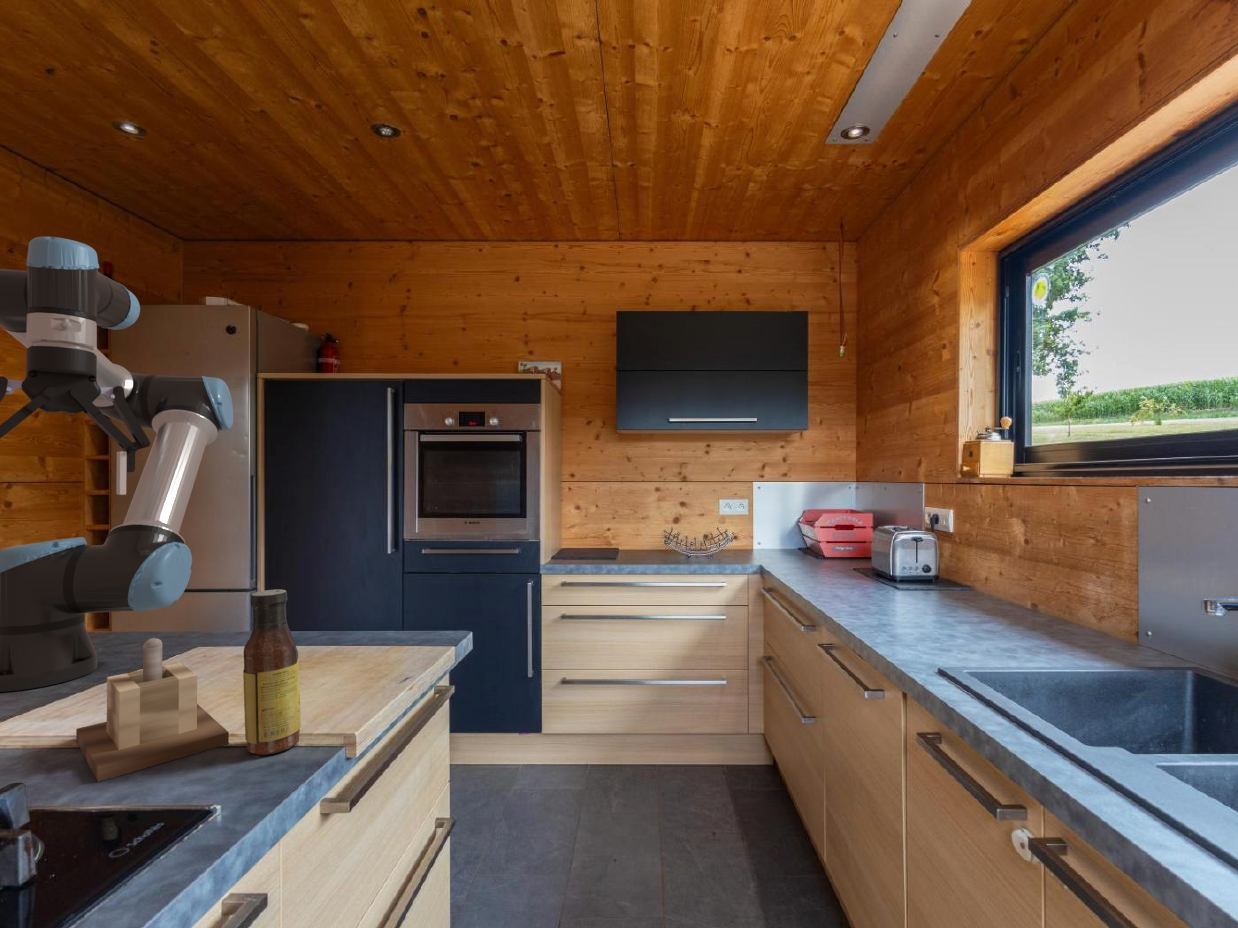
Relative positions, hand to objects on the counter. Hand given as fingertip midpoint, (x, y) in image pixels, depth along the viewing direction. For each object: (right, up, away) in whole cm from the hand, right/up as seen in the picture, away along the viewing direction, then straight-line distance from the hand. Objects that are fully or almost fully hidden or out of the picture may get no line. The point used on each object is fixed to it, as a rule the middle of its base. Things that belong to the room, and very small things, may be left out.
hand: (61, 496), depth 88 cm
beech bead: (+19, -30, -8) cm, 37 cm away
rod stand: (+20, -32, -8) cm, 38 cm away
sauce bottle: (+36, -32, -10) cm, 49 cm away
